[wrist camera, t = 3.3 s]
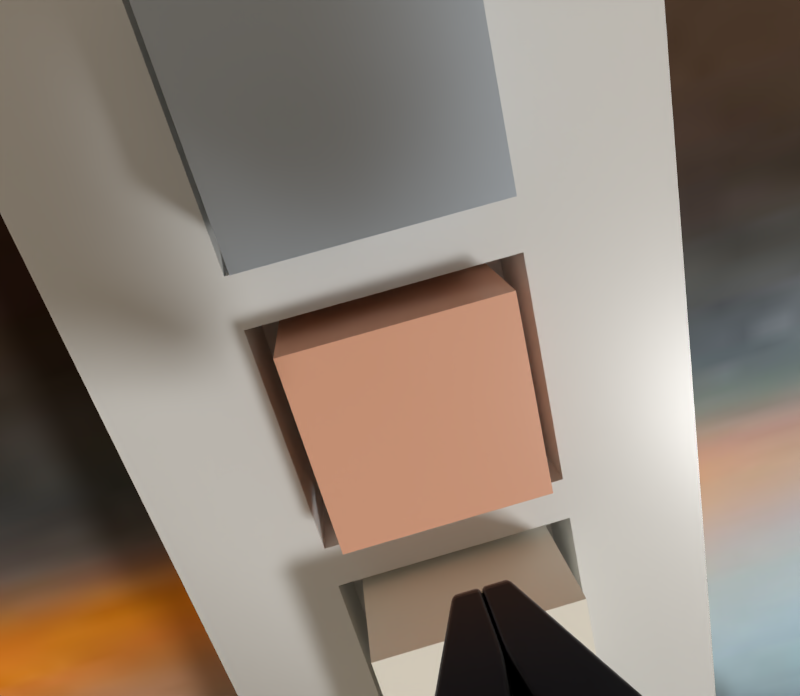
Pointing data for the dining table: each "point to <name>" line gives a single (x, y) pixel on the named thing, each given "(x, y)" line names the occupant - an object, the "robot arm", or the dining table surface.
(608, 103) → the keypad
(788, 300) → the dining table surface
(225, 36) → the key slate
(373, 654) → the key cream
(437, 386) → the key terracotta
